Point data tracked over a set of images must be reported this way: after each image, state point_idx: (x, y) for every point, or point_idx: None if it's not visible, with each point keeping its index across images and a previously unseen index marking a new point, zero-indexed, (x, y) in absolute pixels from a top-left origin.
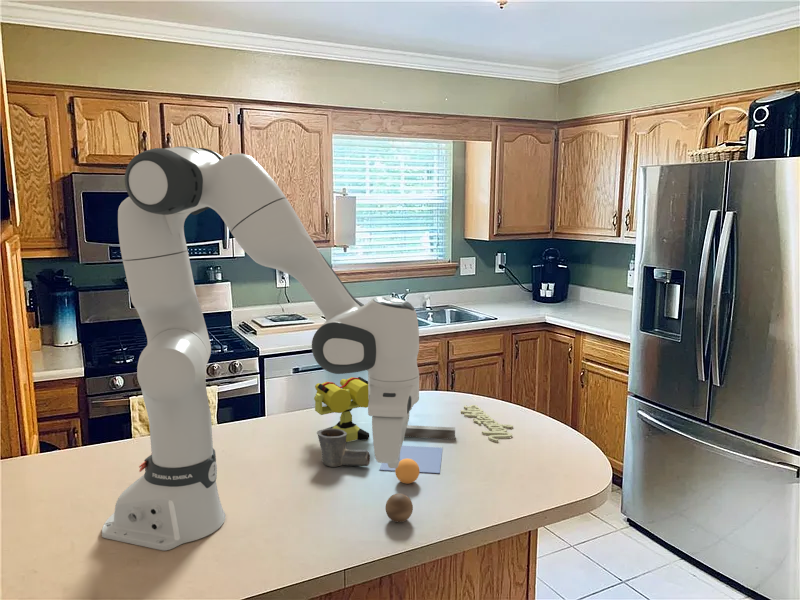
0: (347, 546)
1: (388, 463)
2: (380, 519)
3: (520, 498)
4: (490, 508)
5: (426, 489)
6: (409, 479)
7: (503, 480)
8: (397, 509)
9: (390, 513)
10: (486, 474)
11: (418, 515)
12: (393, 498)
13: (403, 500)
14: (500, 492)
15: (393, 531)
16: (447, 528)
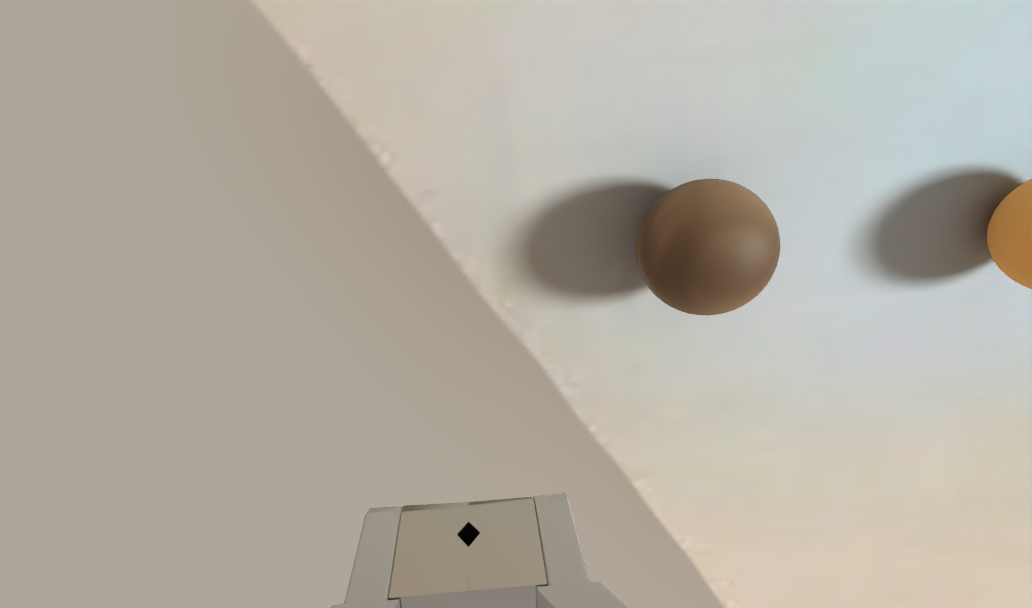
0: (443, 22)
1: (359, 544)
2: (687, 144)
3: (820, 597)
4: (762, 526)
5: (930, 307)
6: (995, 245)
7: (948, 550)
8: (652, 257)
9: (651, 215)
10: (1005, 501)
11: None
12: (713, 239)
13: (697, 291)
14: (866, 547)
15: (592, 220)
16: (629, 414)
